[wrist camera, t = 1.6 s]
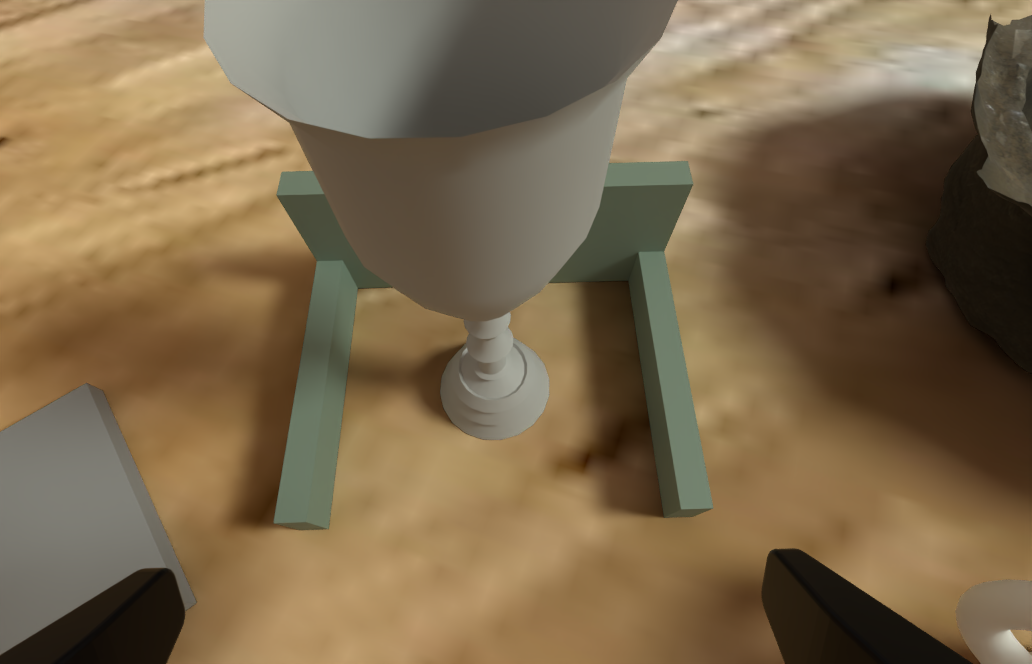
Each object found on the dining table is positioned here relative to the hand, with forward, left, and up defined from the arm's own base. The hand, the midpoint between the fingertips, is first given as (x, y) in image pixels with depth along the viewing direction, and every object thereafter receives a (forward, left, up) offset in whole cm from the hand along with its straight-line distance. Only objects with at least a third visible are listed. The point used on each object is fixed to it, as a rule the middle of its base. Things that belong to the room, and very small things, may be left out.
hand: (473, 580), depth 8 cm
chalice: (+7, +4, -14) cm, 16 cm away
